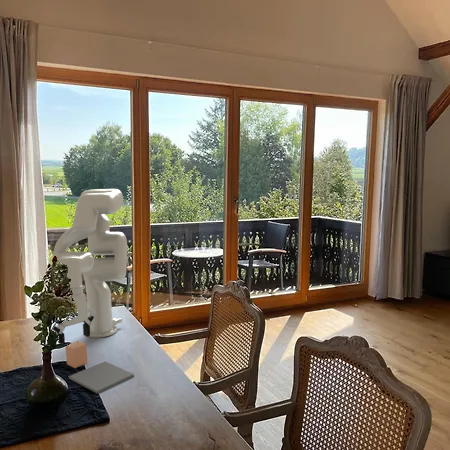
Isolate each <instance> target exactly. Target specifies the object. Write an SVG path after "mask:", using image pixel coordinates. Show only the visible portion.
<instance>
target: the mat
mask: <svg viewBox="0 0 450 450" xmlns="http://www.w3.org/2000/svg"><path fill="white" fill-rule="evenodd" d="M134 375H135V374H134V373H133V372H130V371H128V370H126V369H124V368H122V367H119V366H117V365H114V364H112V363H110V362H107V361H103V362H100V363H98V364H95V365H93V366H90V367H88V368H86V369H84V370H81V371H78V372H75V373H74V374H73V373H72V374H71V375H68V379H69V380H71V381H73V382H74V383H76V384H78V385H80V386H82V387H84V388H86V389H88V390H90V391H92V392H93V393H95V394H99V393H101V392H104V391H106V390H108V389H110V388H112V387H114V386H116V385H118V384H121V383H123V382H125V381H127V380H129V379H131V378H134V377H135V376H134Z"/></svg>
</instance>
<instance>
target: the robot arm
mask: <svg viewBox="0 0 450 450" xmlns="http://www.w3.org/2000/svg"><path fill="white" fill-rule="evenodd" d="M123 203H124V197H123V193H122V191H121V190H120V189H118V188H99V189H98V188H97V189H95V188H94V189H88V190H84V191H82V192H81V194H80V196H79V197H78V198H77V202H76V208H75V211H74V216H73V221H72V226H71V227H69V228H68V229H67V230H66V231H64V232H63V233H62V234H61V235H60V237H59V238H58V239H57V241H56V243H55V245H54V248H53V254H52V258H51V260H52V259H53V257H54V256H56V257H57V259H58V261H59V262H60V263H63V264H65V265H67V267H68V273H67V277H68V278H70V279H71V282H70V288H71V290H72V292H73V295H72V298H73V300H74V301H75V303H76V305H77V311H78V316H77V317H75V318H74V319H73V320H69V321H67V320H65V319H64V322H63V323H56V324H57V326H56V324H55V326H54V327H53V331H54V332H55V333H56V335H57V334H58V336H59V341H57V342H58V344H60V345H62V343H65V344H66V341H65V339H66V337H65V333H64V331H65V329H66V327H70V326H75V325H77V324H81V323H83V324H82V332H83V336H85V337H88V338H95V339H97V338H106V337H110V336H113V335H114V334H115V333H117V330H118V328H117V324H120V323H122V322H123V318H121V317H119V318H113V312H112V311H113V310H112V309H113V307H112V296H111V294H112V293H111V288H110V287H109V285H108V284H107V283H106V282H116V281H117V282H118V281H123V280H124V279H125V278H126V276H127V265H128V240H127V237H126V234H124V233H123V232H121V231H110V229H111V228H110V226H111V225H110V224H111V222H110V219H109V218H108V216H107V215H113V214H115V213H116V212H118V211H119V210H121V208H122V207H123ZM86 238H87V250H88V251H68V249H69V248H70V246H71V247H72V245H74V244H75V243H77V242H79V241H82V240H84V239H86ZM107 255H108V256H113V255H114V257H94V256H107ZM82 276H83V277H82ZM83 279H84V284H83ZM85 289H86V294H85V293H84V290H85ZM70 319H71V318H70Z"/></svg>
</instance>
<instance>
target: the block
mask: <svg viewBox="0 0 450 450" xmlns="http://www.w3.org/2000/svg"><path fill="white" fill-rule="evenodd" d="M69 344H70V345H68V344H67V345H68V346H65V356H66V357H65V358H66V365H67V366H70V367H71V368H74V369H77V368H78V367H82V366H83V365H86V364H88V352H87V344H86V343H85V342H82V341H79V340H78V341H75V342H71V343H69Z"/></svg>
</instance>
